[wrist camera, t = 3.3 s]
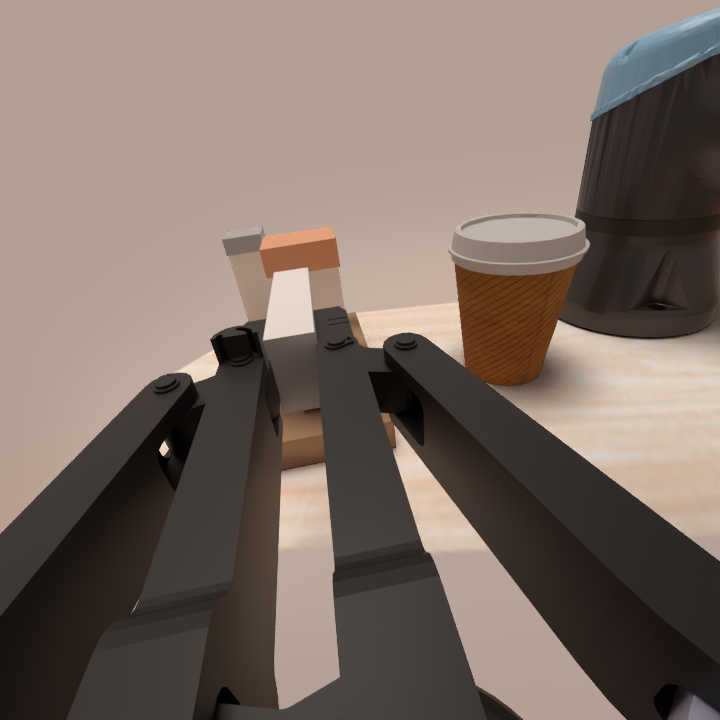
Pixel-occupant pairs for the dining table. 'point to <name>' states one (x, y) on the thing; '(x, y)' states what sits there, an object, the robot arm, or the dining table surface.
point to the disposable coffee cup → (513, 289)
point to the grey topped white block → (249, 270)
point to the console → (315, 426)
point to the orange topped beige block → (307, 262)
